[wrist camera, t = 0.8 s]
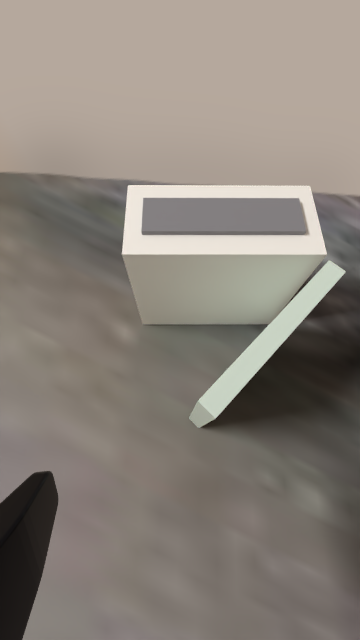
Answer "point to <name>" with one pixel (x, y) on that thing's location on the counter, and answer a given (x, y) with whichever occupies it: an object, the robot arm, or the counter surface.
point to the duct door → (264, 346)
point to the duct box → (219, 251)
